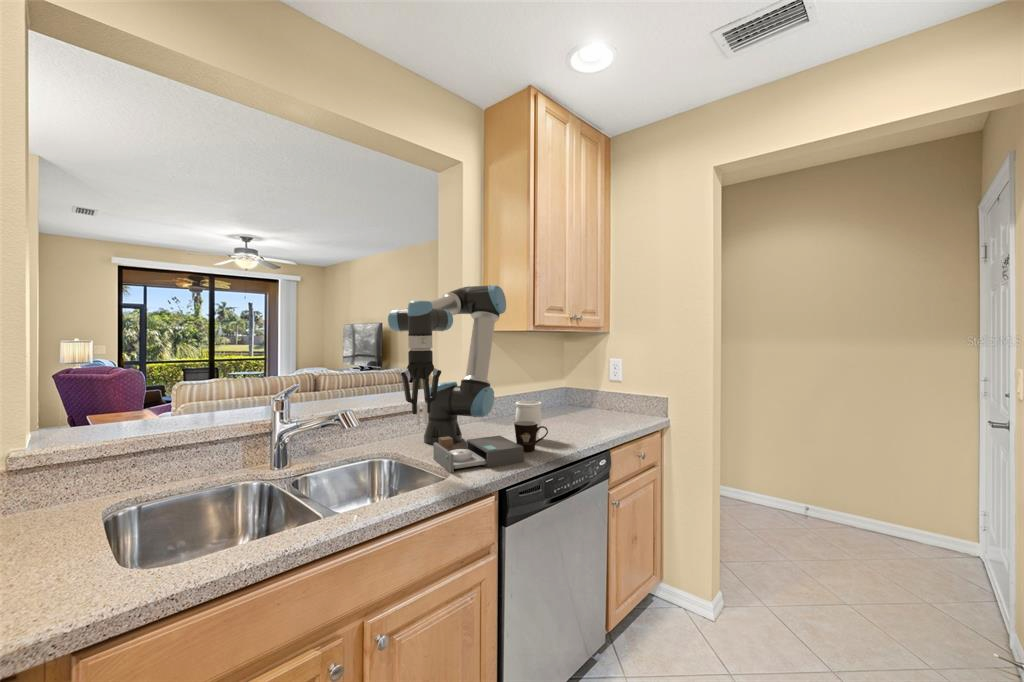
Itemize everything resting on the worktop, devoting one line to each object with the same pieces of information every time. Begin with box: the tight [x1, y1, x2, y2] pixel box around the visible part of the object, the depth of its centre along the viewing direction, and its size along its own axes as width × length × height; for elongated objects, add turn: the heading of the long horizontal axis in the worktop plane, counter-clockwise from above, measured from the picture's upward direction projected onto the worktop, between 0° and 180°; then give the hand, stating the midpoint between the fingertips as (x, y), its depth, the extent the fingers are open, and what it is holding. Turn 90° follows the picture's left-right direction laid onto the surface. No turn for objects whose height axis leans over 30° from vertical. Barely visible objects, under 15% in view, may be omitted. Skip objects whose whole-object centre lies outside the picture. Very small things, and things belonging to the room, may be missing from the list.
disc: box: [449, 448, 472, 462], centre depth 149 cm, size 8×8×2 cm
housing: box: [466, 434, 524, 468], centre depth 154 cm, size 18×13×5 cm
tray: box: [432, 442, 486, 474], centre depth 149 cm, size 17×13×6 cm
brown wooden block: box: [439, 436, 454, 451], centre depth 158 cm, size 4×4×6 cm
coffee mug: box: [513, 421, 549, 453], centre depth 164 cm, size 12×9×10 cm
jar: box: [515, 400, 543, 441], centre depth 181 cm, size 11×10×15 cm
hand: (421, 423), depth 142 cm, fingers open, 2 cm apart
